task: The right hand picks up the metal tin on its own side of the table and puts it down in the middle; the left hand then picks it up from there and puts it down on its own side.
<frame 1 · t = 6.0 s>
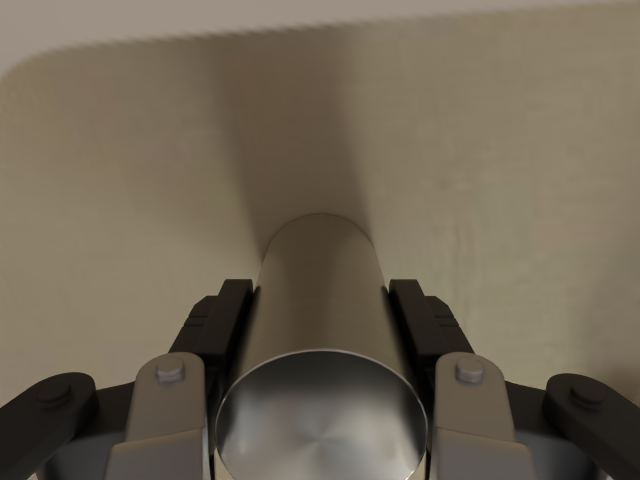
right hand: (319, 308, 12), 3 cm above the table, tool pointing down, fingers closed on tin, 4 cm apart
tin: (320, 267, 15), on the table, touching right hand
when the right hand's fingers open (5 cm above the table, at t = 13.7 s): tin drops 2 cm, on the table.
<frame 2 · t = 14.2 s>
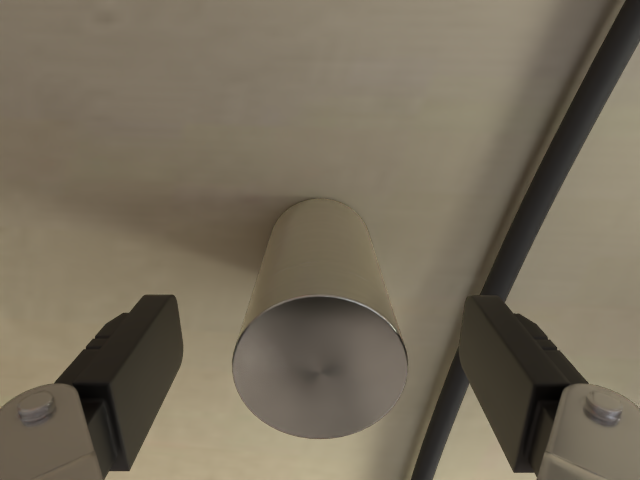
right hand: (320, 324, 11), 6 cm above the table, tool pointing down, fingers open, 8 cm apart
tin: (320, 246, 17), on the table
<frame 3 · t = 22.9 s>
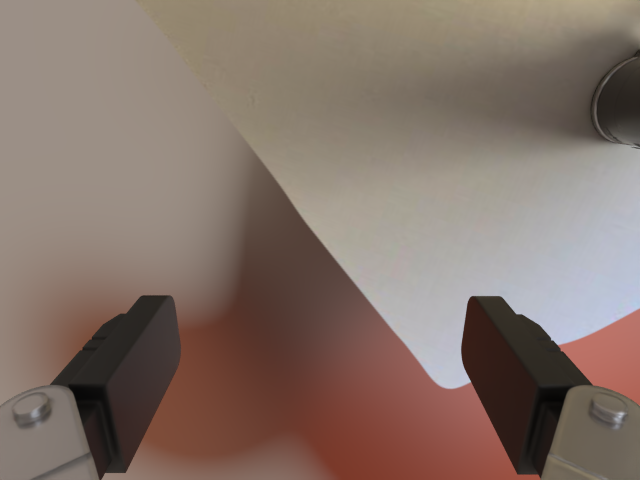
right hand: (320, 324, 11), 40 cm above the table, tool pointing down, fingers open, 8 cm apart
when the left hand's fingers open (5 cm above the table, at t = 29.8 s): tin drops 2 cm, on the table.
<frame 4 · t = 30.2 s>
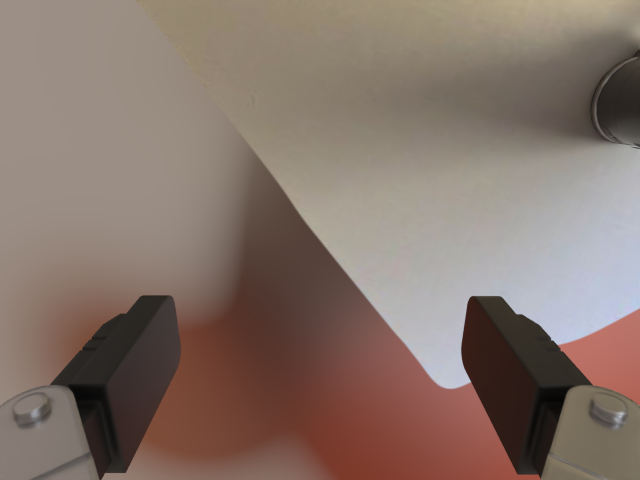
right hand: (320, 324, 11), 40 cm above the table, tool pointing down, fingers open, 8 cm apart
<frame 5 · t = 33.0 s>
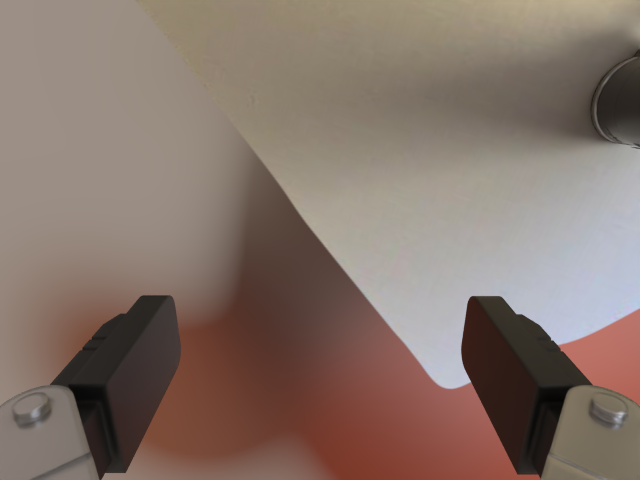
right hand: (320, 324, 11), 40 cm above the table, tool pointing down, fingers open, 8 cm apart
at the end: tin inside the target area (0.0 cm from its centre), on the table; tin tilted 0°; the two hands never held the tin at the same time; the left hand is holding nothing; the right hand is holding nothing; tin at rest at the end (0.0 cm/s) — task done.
